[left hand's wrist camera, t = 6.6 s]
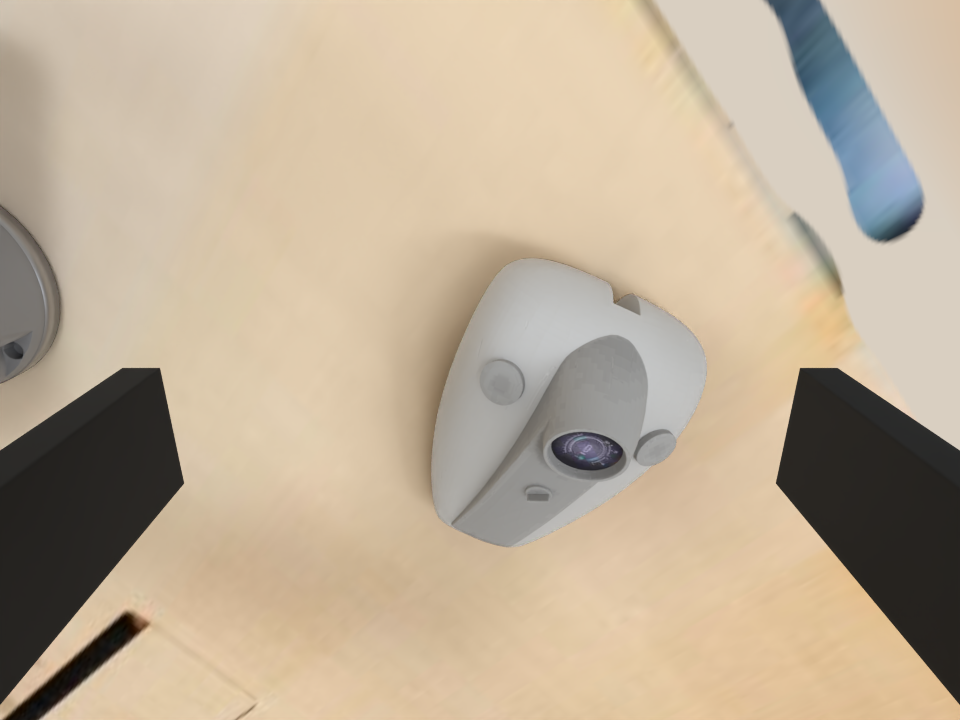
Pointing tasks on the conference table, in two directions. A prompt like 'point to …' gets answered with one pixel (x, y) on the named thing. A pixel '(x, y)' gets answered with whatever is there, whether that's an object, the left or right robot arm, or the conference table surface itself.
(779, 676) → the conference table surface
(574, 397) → the projector
